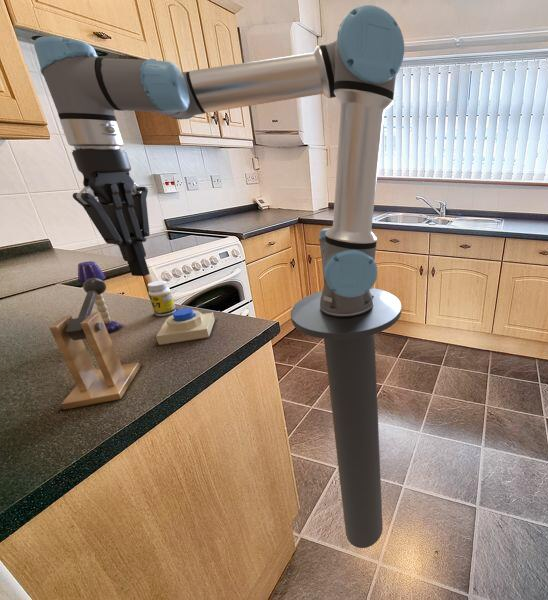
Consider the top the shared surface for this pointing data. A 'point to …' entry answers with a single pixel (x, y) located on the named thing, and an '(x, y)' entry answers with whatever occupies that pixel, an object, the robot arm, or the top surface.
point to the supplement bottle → (161, 298)
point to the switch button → (183, 314)
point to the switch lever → (85, 307)
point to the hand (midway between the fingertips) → (141, 274)
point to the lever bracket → (89, 380)
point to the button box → (186, 328)
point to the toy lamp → (93, 271)
